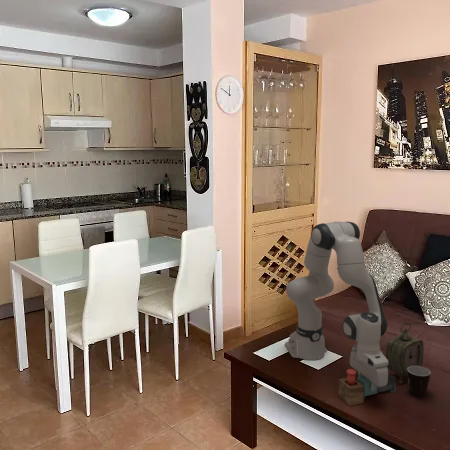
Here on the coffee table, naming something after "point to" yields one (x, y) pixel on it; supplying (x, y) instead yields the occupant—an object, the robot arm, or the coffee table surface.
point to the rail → (387, 386)
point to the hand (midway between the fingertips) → (367, 386)
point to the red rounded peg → (351, 377)
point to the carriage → (366, 385)
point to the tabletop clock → (404, 352)
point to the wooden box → (351, 392)
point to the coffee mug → (418, 381)
